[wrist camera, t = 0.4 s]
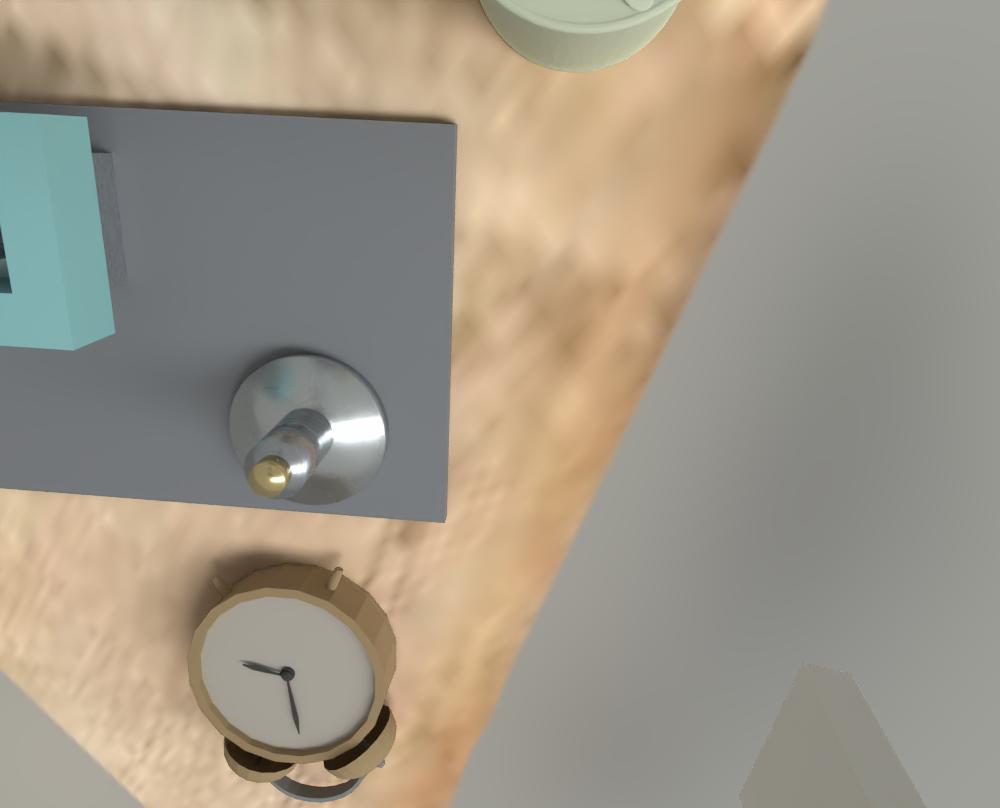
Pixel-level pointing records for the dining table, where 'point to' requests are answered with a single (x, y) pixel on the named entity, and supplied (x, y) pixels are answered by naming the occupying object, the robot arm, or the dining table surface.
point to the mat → (249, 305)
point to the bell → (308, 429)
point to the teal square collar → (51, 235)
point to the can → (578, 29)
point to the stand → (108, 221)
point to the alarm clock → (296, 677)
